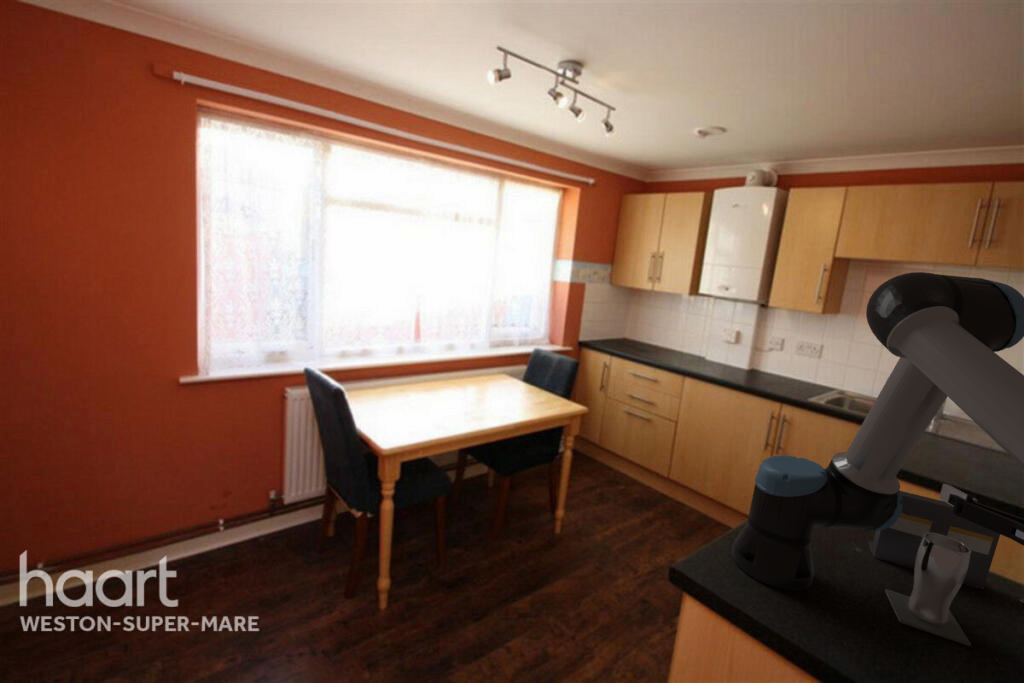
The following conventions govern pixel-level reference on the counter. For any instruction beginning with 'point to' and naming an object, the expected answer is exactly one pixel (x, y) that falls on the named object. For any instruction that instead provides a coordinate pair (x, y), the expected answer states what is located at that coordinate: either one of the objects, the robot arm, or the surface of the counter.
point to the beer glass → (937, 577)
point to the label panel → (935, 518)
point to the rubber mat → (906, 617)
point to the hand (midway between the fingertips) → (989, 500)
